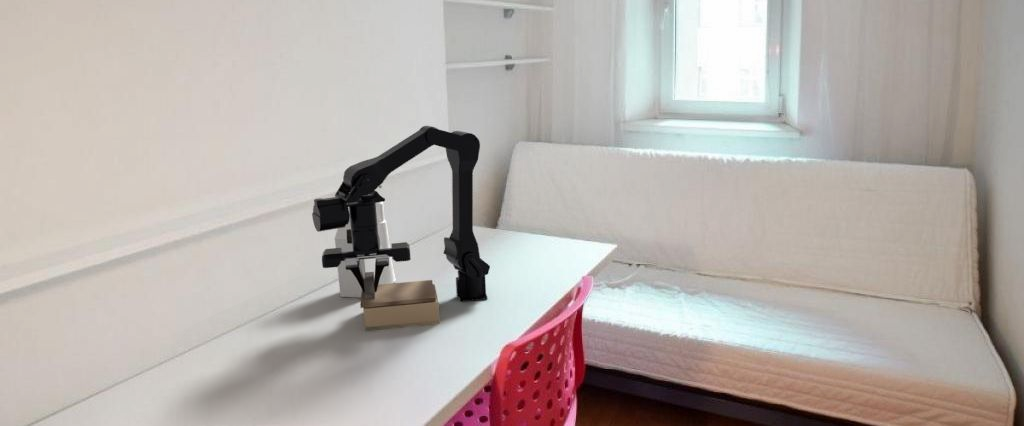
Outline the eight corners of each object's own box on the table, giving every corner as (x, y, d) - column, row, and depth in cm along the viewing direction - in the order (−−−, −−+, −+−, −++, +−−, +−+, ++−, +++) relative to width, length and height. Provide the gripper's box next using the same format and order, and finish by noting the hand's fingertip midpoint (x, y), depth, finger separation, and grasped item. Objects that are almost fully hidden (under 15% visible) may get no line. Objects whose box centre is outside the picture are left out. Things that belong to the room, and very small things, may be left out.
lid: (432, 283, 168) (430, 263, 167) (435, 300, 156) (434, 279, 155) (362, 289, 165) (360, 269, 164) (360, 307, 154) (358, 286, 153)
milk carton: (367, 298, 175) (360, 222, 170) (340, 297, 176) (332, 222, 172) (378, 288, 181) (372, 215, 177) (352, 287, 183) (345, 215, 178)
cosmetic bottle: (381, 276, 190) (374, 195, 185) (400, 279, 188) (394, 197, 183) (367, 284, 185) (360, 200, 180) (387, 286, 182) (380, 202, 177)
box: (435, 304, 169) (434, 284, 168) (439, 323, 158) (438, 301, 156) (366, 310, 167) (364, 290, 165) (365, 330, 155) (363, 309, 154)
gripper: (406, 212, 165) (411, 276, 169) (322, 218, 162) (329, 284, 166) (407, 223, 154) (413, 292, 158) (318, 230, 151) (325, 300, 155)
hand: (370, 291), depth 159 cm, fingers closed on lid, 2 cm apart
